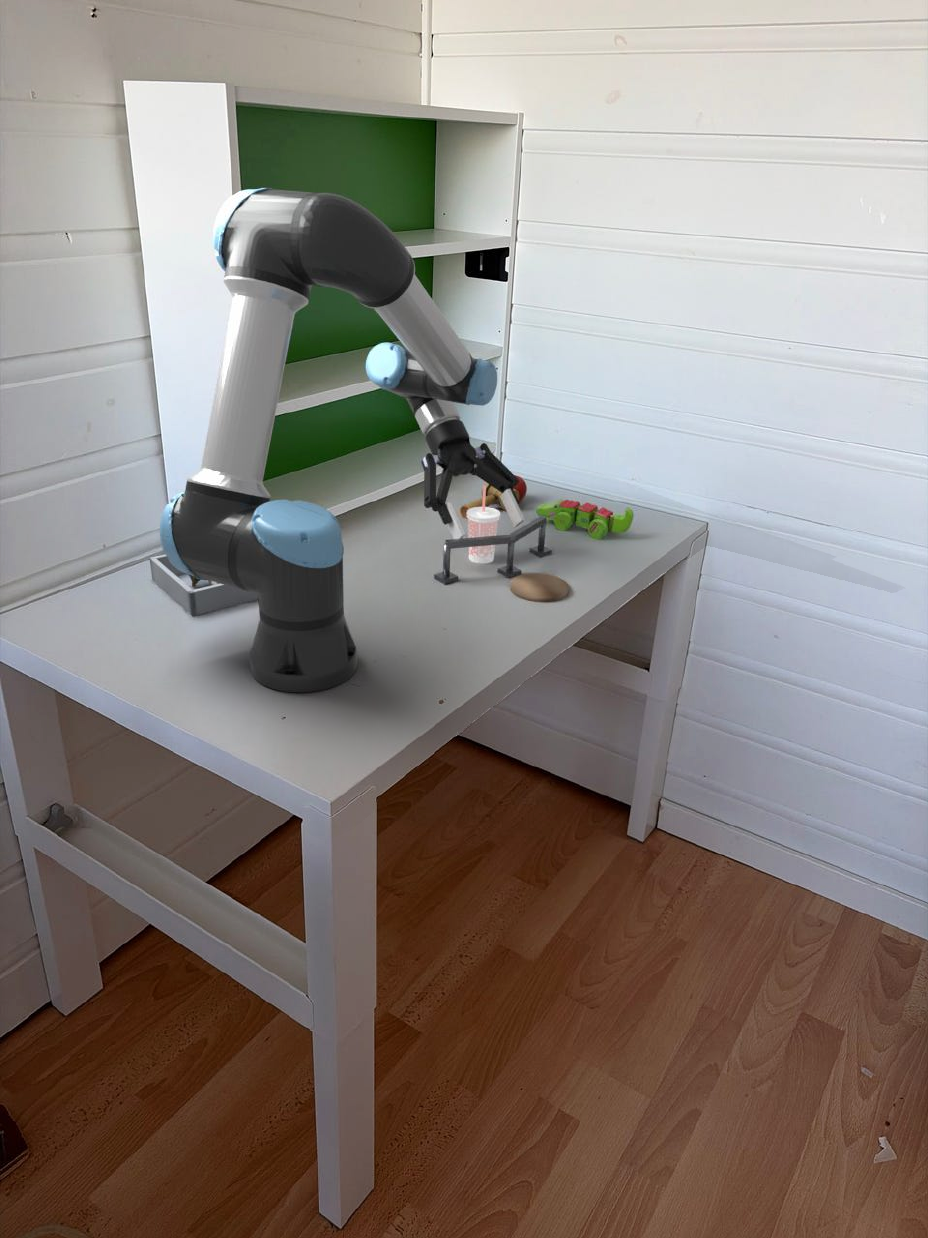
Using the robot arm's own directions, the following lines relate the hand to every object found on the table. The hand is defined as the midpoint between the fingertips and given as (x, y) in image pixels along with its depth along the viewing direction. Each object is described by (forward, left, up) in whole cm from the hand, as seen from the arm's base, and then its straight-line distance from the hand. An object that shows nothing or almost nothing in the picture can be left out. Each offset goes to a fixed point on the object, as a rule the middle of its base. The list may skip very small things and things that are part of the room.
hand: (490, 530), depth 168 cm
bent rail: (0, -4, -6) cm, 7 cm away
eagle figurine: (-45, +17, -6) cm, 48 cm away
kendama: (+19, +22, -7) cm, 30 cm away
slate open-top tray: (-46, +17, -6) cm, 50 cm away
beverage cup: (0, +2, -6) cm, 7 cm away
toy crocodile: (+27, +3, -7) cm, 27 cm away
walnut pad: (0, -14, -6) cm, 15 cm away
